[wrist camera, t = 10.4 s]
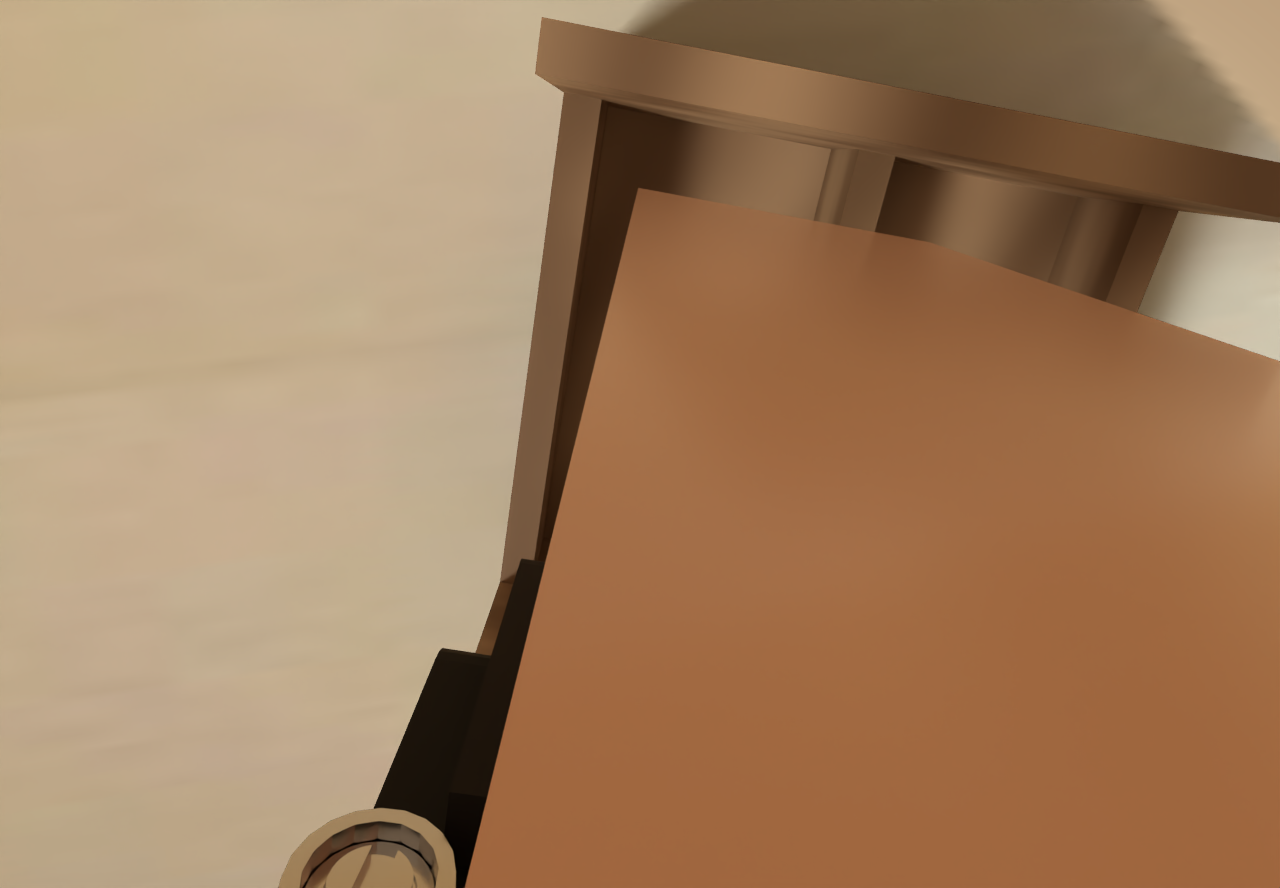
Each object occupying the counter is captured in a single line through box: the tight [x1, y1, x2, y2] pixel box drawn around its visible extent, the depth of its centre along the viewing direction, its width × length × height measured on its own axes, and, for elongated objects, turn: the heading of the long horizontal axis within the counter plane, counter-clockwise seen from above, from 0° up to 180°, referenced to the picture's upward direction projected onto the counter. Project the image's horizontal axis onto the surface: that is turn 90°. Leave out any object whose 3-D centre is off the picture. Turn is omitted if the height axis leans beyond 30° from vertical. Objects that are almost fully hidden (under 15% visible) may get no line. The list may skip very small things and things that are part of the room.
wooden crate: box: [476, 17, 1280, 655], centre depth 23 cm, size 17×17×10 cm
